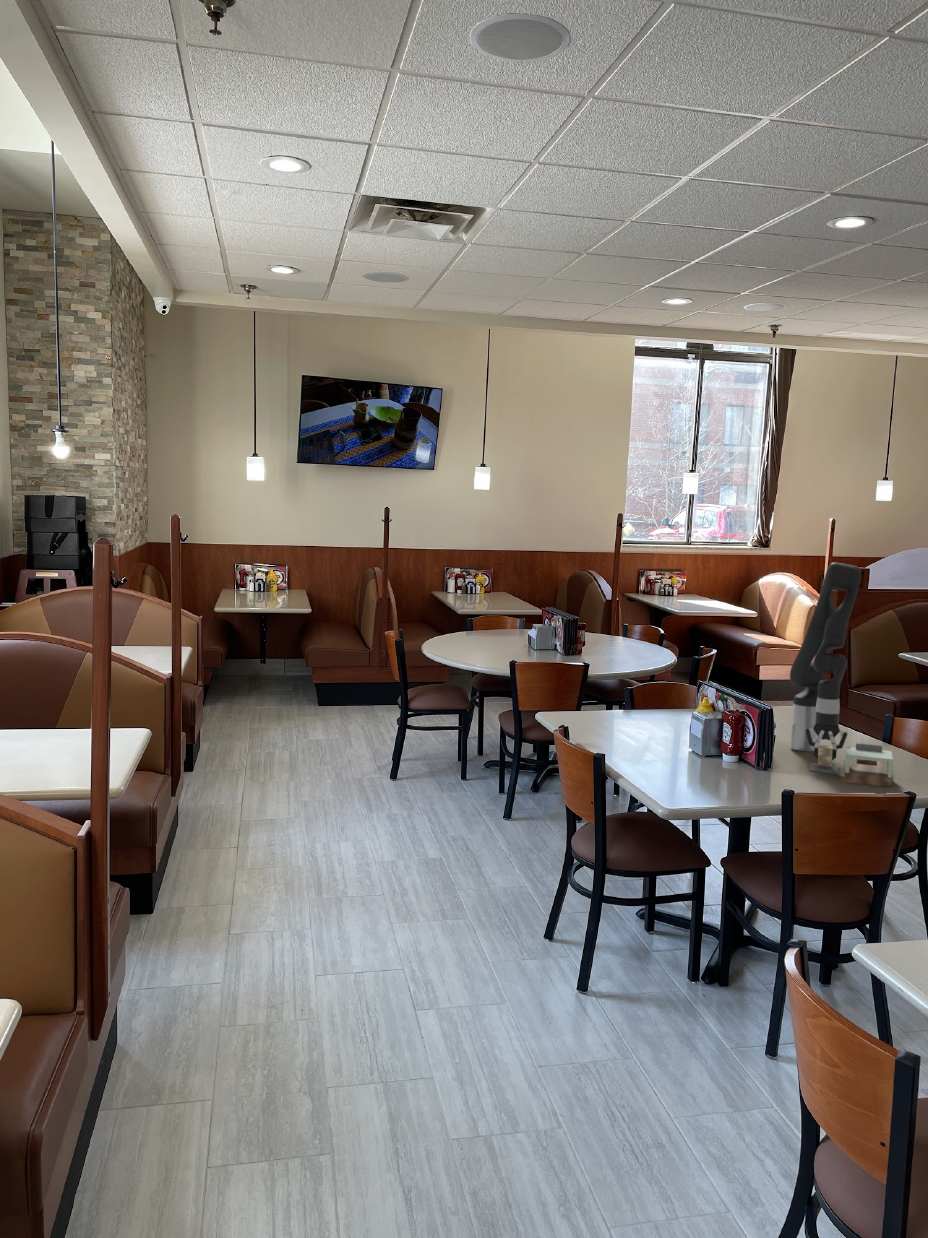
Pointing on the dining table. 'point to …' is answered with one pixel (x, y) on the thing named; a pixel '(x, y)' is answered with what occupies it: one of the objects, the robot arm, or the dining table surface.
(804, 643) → the robot arm
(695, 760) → the dining table surface
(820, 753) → the birch block
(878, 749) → the pale green toy table
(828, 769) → the rubber mat
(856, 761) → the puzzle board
